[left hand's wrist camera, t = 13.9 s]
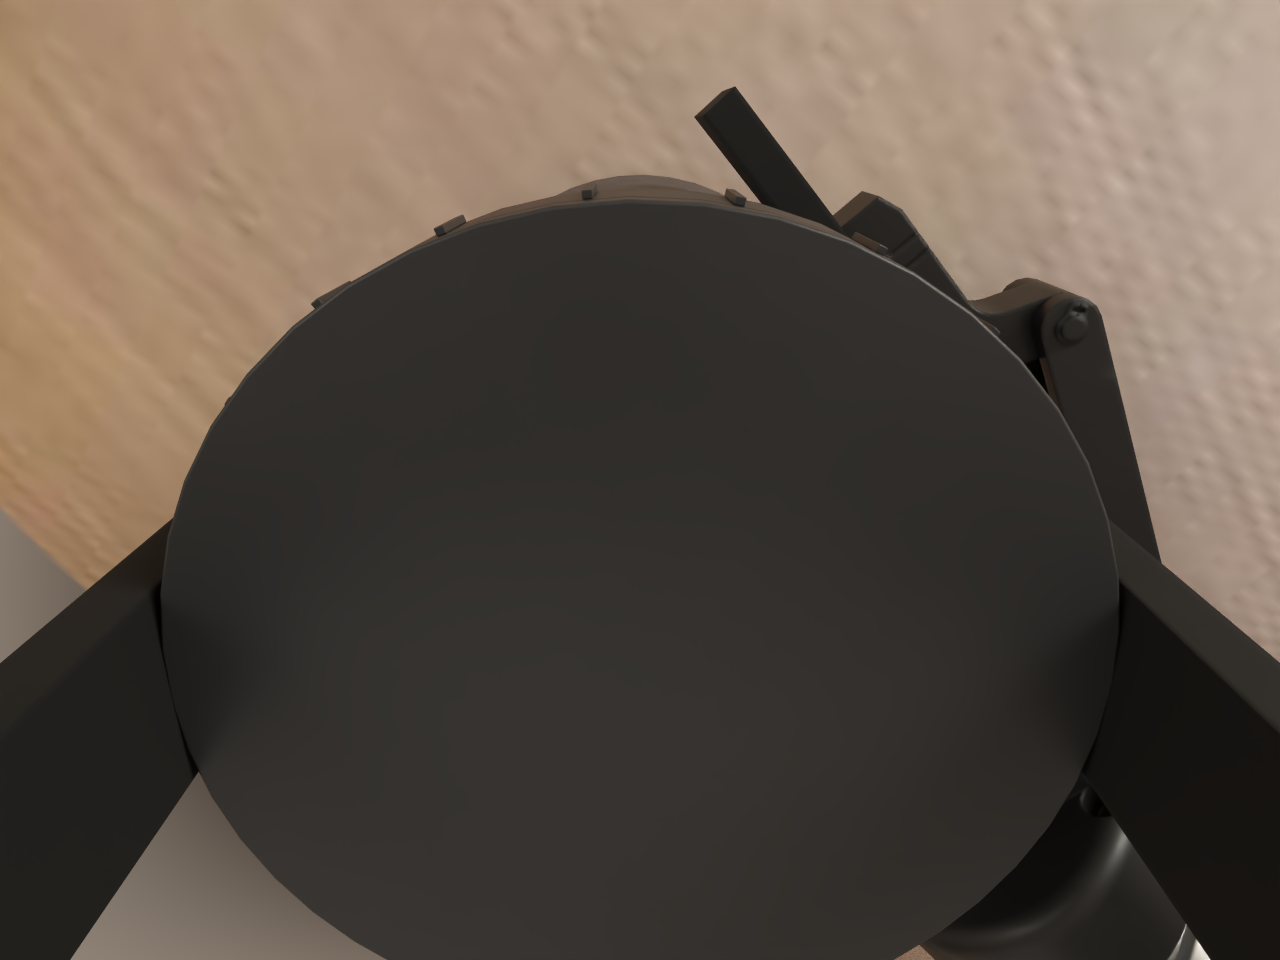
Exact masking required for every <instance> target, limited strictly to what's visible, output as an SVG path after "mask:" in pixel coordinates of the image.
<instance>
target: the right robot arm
mask: <svg viewBox="0 0 1280 960" xmlns="http://www.w3.org/2000/svg"><path fill="white" fill-rule="evenodd" d="M695 119H696V120H697V121H698V122H699V124H700V125H701V126H702V128H703V129H704V130H705V131H706V133H707V134H708V135H709V137H710V138H711V139H712V140H713V142H714V143H715V144H716V146H717V147H718V148H719V149H720V151H721V152H722V153H723V155H724V156H725V157H726V158H727V160H728V161H729V162H730V164H731V165H732V166H733V167H734V169H735V170H736V171H737V173H738V174H739V175H740V176H741V178H742V179H743V180H744V182H745V183H746V184H747V185H748V187H749V188H750V189H751V191H752V192H753V193H754V194H755V196H756V197H757V198H758V200H759V201H760V202H761V203H762V204H764V205H767V206H769V207H772V208H775V209H778V210H781V211H784V212H787V213H790V214H793V215H796V216H799V217H802V218H805V219H808V220H811V221H814V222H817V223H820V224H822V225H824V226H826V227H828V228H830V229H832V230H834V231H836V232H838V233H840V234H842V235H844V236H846V237H848V238H850V239H852V236H853V235H854V233H855V232H857V233H859V234H861V235H863V236H865V237H867V238H869V239H871V240H873V241H875V242H877V243H879V244H881V245H883V246H885V247H886V248H888V250H887V252H886V253H885V255H884V256H885V257H887V258H889V259H891V260H892V261H894V262H896V263H898V264H900V265H902V266H904V267H905V268H907V269H909V270H911V271H913V272H915V273H916V274H918V275H919V276H920V277H922V278H923V279H925V280H926V281H928V282H929V283H930V284H932V285H933V286H935V287H936V288H938V289H939V290H940V291H942V292H943V293H945V294H946V295H948V296H949V297H950V298H952V299H953V300H955V301H956V302H957V303H959V304H960V305H962V306H963V307H965V308H966V309H967V310H969V311H970V312H972V313H973V314H974V315H975V316H976V317H978V318H980V319H982V320H983V321H985V322H987V323H989V324H990V325H992V326H994V327H995V328H996V329H997V330H998V331H999V332H1000V334H999V335H998V336H997V337H998V338H999V339H1000V340H1001V341H1002V342H1003V343H1004V344H1005V345H1006V346H1008V347H1009V348H1010V349H1011V350H1012V351H1013V352H1014V353H1015V354H1016V355H1017V356H1018V357H1019V358H1020V359H1021V360H1022V362H1023V363H1024V364H1025V365H1026V367H1027V368H1028V369H1029V371H1030V372H1031V373H1032V375H1033V376H1034V377H1035V378H1036V380H1037V381H1038V382H1039V384H1040V385H1041V386H1042V387H1043V389H1044V390H1045V391H1046V393H1047V394H1048V395H1049V397H1050V398H1051V399H1052V400H1053V402H1054V403H1055V404H1056V406H1057V407H1058V408H1059V410H1060V411H1061V413H1062V415H1063V417H1064V419H1065V421H1066V422H1067V424H1068V426H1069V428H1070V430H1071V432H1072V434H1073V435H1074V437H1075V439H1076V441H1077V443H1078V445H1079V446H1080V448H1081V450H1082V452H1083V454H1084V456H1085V457H1086V459H1087V461H1088V463H1089V465H1090V468H1091V471H1092V474H1093V477H1094V480H1095V483H1096V485H1097V488H1098V491H1099V494H1100V497H1101V500H1102V502H1103V505H1104V508H1105V511H1106V514H1107V517H1108V519H1109V520H1110V521H1112V522H1113V523H1114V524H1115V525H1116V526H1118V527H1119V528H1120V529H1121V530H1122V531H1124V532H1125V533H1126V534H1127V535H1128V536H1129V537H1131V538H1132V539H1133V540H1134V541H1135V542H1137V543H1138V544H1139V545H1140V546H1141V547H1143V548H1144V549H1145V550H1146V551H1147V552H1149V553H1150V554H1151V555H1152V556H1153V557H1154V558H1156V559H1157V560H1158V561H1159V562H1160V563H1161V559H1160V555H1159V551H1158V547H1157V543H1156V539H1155V534H1154V530H1153V526H1152V522H1151V518H1150V514H1149V510H1148V505H1147V501H1146V497H1145V493H1144V489H1143V485H1142V481H1141V477H1140V472H1139V468H1138V464H1137V460H1136V456H1135V452H1134V448H1133V444H1132V439H1131V435H1130V431H1129V427H1128V423H1127V419H1126V415H1125V411H1124V406H1123V402H1122V398H1121V394H1120V390H1119V386H1118V382H1117V378H1116V373H1115V369H1114V365H1113V361H1112V357H1111V353H1110V349H1109V344H1108V340H1107V336H1106V332H1105V328H1104V324H1103V320H1102V316H1101V314H1100V312H1099V310H1098V308H1097V306H1096V305H1095V304H1093V303H1092V302H1091V301H1089V300H1088V299H1086V298H1083V297H1081V296H1078V295H1075V294H1073V293H1070V292H1068V291H1065V290H1063V289H1060V288H1058V287H1055V286H1052V285H1050V284H1047V283H1045V282H1042V281H1040V280H1037V279H1032V278H1023V279H1018V280H1015V281H1014V282H1012V283H1011V284H1009V285H1008V286H1006V288H1005V289H1004V290H1003V291H1002V292H1001V293H998V294H995V295H993V296H990V297H987V298H984V299H980V300H976V301H974V300H967V299H966V297H965V296H964V294H963V293H962V292H961V290H960V289H959V288H958V286H957V285H956V283H955V282H954V281H953V279H952V278H951V277H950V275H949V274H948V272H947V271H946V270H945V268H944V267H943V265H942V264H941V263H940V261H939V260H938V259H937V257H936V256H935V254H934V253H933V252H932V251H931V250H930V248H929V246H928V245H927V243H926V242H925V241H924V239H923V238H922V236H921V235H920V234H919V233H918V231H917V230H916V228H915V227H914V225H913V224H912V223H911V221H910V220H909V218H908V217H907V216H906V214H905V213H904V212H903V210H902V209H900V208H898V207H897V206H895V205H893V204H891V203H890V202H888V201H886V200H884V199H883V198H881V197H879V196H876V195H873V194H870V193H866V192H863V191H862V192H860V193H859V194H858V195H857V196H856V197H855V198H853V199H852V200H851V201H850V202H849V203H847V204H846V205H845V206H844V207H843V208H841V209H840V210H839V211H838V212H837V213H835V214H834V215H833V216H832V214H831V213H830V212H829V210H828V209H827V208H826V206H825V205H824V204H823V202H822V201H821V200H820V198H819V197H818V196H817V194H816V193H815V192H814V190H813V189H812V188H811V186H810V185H809V184H808V182H807V181H806V180H805V178H804V177H803V176H802V174H801V173H800V172H799V171H798V169H797V168H796V167H795V165H794V164H793V163H792V161H791V160H790V159H789V157H788V156H787V155H786V153H785V152H784V151H783V149H782V148H781V147H780V145H779V144H778V143H777V141H776V140H775V139H774V137H773V136H772V135H771V133H770V132H769V131H768V129H767V128H766V127H765V125H764V124H763V123H762V121H761V120H760V119H759V117H758V116H757V115H756V113H755V112H754V111H753V109H752V108H751V107H750V105H749V104H748V103H747V101H746V100H745V99H744V97H743V96H742V95H741V94H740V92H739V91H738V90H737V88H736V87H732V88H730V89H727V90H725V91H722V92H721V93H720V94H719V95H718V96H717V97H716V98H715V99H713V100H712V101H711V102H710V103H709V104H708V105H707V106H706V107H705V108H704V109H702V110H701V111H700V112H699V113H698V114H697V115H696V116H695ZM919 945H920V946H921V947H922V948H923V949H924V950H925V951H927V952H928V953H929V954H930V955H931V956H932V957H933V958H934V959H935V960H1210V958H1209V957H1208V955H1207V954H1206V953H1205V951H1204V950H1203V948H1202V947H1201V945H1200V944H1199V942H1198V941H1197V939H1196V938H1195V936H1194V935H1193V933H1192V932H1191V931H1190V929H1189V928H1188V926H1187V925H1186V923H1185V922H1184V920H1183V919H1182V917H1181V916H1180V914H1179V913H1178V912H1177V910H1176V909H1175V907H1174V906H1173V904H1172V903H1171V901H1170V900H1169V898H1168V897H1167V895H1166V894H1165V892H1164V891H1163V890H1162V888H1161V887H1160V885H1159V884H1158V882H1157V881H1156V879H1155V878H1154V876H1153V875H1152V873H1151V872H1150V871H1149V869H1148V868H1147V866H1146V865H1145V863H1144V862H1143V860H1142V859H1141V857H1140V856H1139V854H1138V853H1137V851H1136V850H1135V849H1134V847H1133V846H1132V844H1131V843H1130V841H1129V840H1128V838H1127V837H1126V835H1125V834H1124V832H1123V831H1122V830H1121V828H1120V827H1119V825H1118V824H1117V822H1116V821H1115V819H1114V818H1113V816H1112V815H1111V813H1110V812H1109V810H1108V809H1107V808H1106V806H1105V805H1104V803H1103V802H1102V800H1101V799H1100V797H1099V796H1098V794H1097V793H1096V791H1095V790H1094V789H1093V787H1092V786H1091V784H1090V783H1089V781H1088V780H1087V778H1086V777H1085V775H1084V774H1083V772H1082V771H1081V774H1080V776H1079V778H1078V780H1077V782H1076V784H1075V786H1074V787H1073V789H1072V790H1071V792H1070V794H1069V795H1068V797H1067V798H1066V800H1065V802H1064V803H1063V805H1062V806H1061V808H1060V810H1059V811H1058V813H1057V814H1056V816H1055V818H1054V819H1053V821H1052V822H1051V824H1050V826H1049V827H1048V828H1047V829H1046V831H1045V832H1044V833H1043V834H1042V836H1041V837H1040V838H1039V839H1038V840H1037V842H1036V843H1035V844H1034V845H1033V847H1032V848H1031V849H1030V850H1029V851H1028V853H1027V854H1026V855H1025V856H1024V858H1023V859H1022V860H1021V861H1020V862H1019V864H1018V865H1017V866H1016V867H1015V868H1014V869H1013V870H1012V871H1011V872H1010V873H1009V874H1008V875H1007V876H1006V877H1005V878H1004V879H1003V880H1002V881H1001V882H999V883H998V884H997V885H996V886H995V887H994V888H993V889H992V890H991V891H990V892H989V893H988V894H987V895H986V896H985V897H984V898H983V899H982V900H981V901H980V902H978V903H977V904H976V905H974V906H973V907H972V908H971V909H969V910H968V911H967V912H965V913H964V914H963V915H961V916H960V917H959V918H957V919H956V920H955V921H953V922H952V923H951V924H950V925H948V926H947V927H946V928H944V929H943V930H942V931H940V932H939V933H938V934H936V935H934V936H933V937H931V938H929V939H928V940H926V941H924V942H923V943H921V944H919Z"/></svg>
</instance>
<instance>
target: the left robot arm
mask: <svg viewBox="0 0 1280 960" xmlns="http://www.w3.org/2000/svg"><path fill="white" fill-rule="evenodd" d="M1108 520H1109V519H1108ZM172 521H173V518H172V519H171V520H170V521H169V522H168V523H166V524H165V525H164V526H163V527H162V528H161V529H159V530H158V531H157V532H156V533H155V534H153V535H152V536H151V537H150V538H149V539H147V540H146V541H145V542H144V543H143V544H142V545H140V546H139V547H138V548H137V549H136V550H134V551H133V552H132V553H131V554H130V555H128V556H127V557H126V558H125V559H124V560H122V561H121V562H120V563H119V564H118V565H117V566H115V567H114V568H113V569H112V570H111V571H109V572H108V573H107V574H106V575H105V576H103V577H102V578H101V579H100V580H99V581H98V582H96V583H95V584H94V585H93V586H92V587H90V588H89V589H88V590H87V591H86V592H84V593H83V594H82V595H81V596H80V597H79V598H77V599H76V600H75V601H74V602H73V603H71V604H70V605H69V606H68V607H67V608H65V609H64V610H63V611H62V612H61V613H60V614H58V615H57V616H56V617H55V618H54V619H52V620H51V621H50V622H49V623H48V624H46V625H45V626H44V627H43V628H42V629H40V630H39V631H38V632H37V633H36V634H35V635H33V636H32V637H31V638H30V639H29V640H27V641H26V642H25V643H24V644H23V645H21V646H20V647H19V648H18V649H17V650H16V651H14V652H13V653H12V654H11V655H10V656H8V657H7V658H6V659H5V660H4V661H2V662H1V663H0V960H70V959H71V958H72V956H73V955H74V953H75V952H76V950H77V949H78V947H79V946H80V944H81V943H82V942H83V940H84V939H85V937H86V936H87V934H88V933H89V931H90V930H91V928H92V927H93V925H94V924H95V923H96V921H97V920H98V918H99V917H100V915H101V914H102V912H103V911H104V909H105V908H106V906H107V905H108V903H109V902H110V900H111V899H112V898H113V896H114V895H115V893H116V892H117V890H118V889H119V887H120V886H121V884H122V883H123V881H124V880H125V879H126V877H127V876H128V874H129V873H130V871H131V870H132V868H133V867H134V865H135V864H136V862H137V861H138V860H139V858H140V857H141V855H142V854H143V852H144V851H145V849H146V848H147V846H148V845H149V843H150V842H151V840H152V839H153V838H154V836H155V835H156V833H157V832H158V830H159V829H160V827H161V826H162V824H163V823H164V821H165V820H166V819H167V817H168V815H169V814H170V813H171V811H172V810H173V808H174V807H175V805H176V804H177V802H178V801H179V799H180V798H181V797H182V795H183V794H184V792H185V791H186V789H187V788H188V786H189V785H190V783H191V782H192V780H193V779H194V778H195V776H196V774H197V773H198V772H199V771H198V769H197V767H196V765H195V763H194V761H193V759H192V757H191V755H190V753H189V751H188V748H187V745H186V742H185V739H184V736H183V733H182V730H181V728H180V725H179V722H178V719H177V716H176V712H175V708H174V705H173V701H172V696H171V692H170V687H169V683H168V678H167V674H166V668H165V663H164V657H163V652H162V636H161V599H160V592H161V585H162V577H163V569H164V562H165V554H166V547H167V539H168V534H169V531H170V527H171V524H172ZM1109 525H1110V531H1111V536H1112V542H1113V548H1114V553H1115V559H1116V564H1117V570H1118V575H1119V618H1120V633H1119V641H1118V648H1117V655H1116V663H1115V670H1114V675H1113V680H1112V685H1111V689H1110V693H1109V697H1108V701H1107V705H1106V709H1105V712H1104V716H1103V719H1102V723H1101V726H1100V730H1099V733H1098V736H1097V738H1096V740H1095V743H1094V745H1093V747H1092V749H1091V751H1090V754H1089V756H1088V758H1087V760H1086V763H1085V765H1084V767H1083V769H1082V772H1083V774H1084V775H1085V777H1086V778H1087V780H1088V781H1089V783H1090V784H1091V786H1092V787H1093V789H1094V790H1095V791H1096V793H1097V794H1098V796H1099V797H1100V799H1101V800H1102V802H1103V803H1104V805H1105V806H1106V808H1107V809H1108V810H1109V812H1110V813H1111V815H1112V816H1113V818H1114V819H1115V821H1116V822H1117V824H1118V825H1119V827H1120V828H1121V830H1122V831H1123V832H1124V834H1125V835H1126V837H1127V838H1128V840H1129V841H1130V843H1131V844H1132V846H1133V847H1134V849H1135V850H1136V851H1137V853H1138V854H1139V856H1140V857H1141V859H1142V860H1143V862H1144V863H1145V865H1146V866H1147V868H1148V869H1149V871H1150V872H1151V873H1152V875H1153V876H1154V878H1155V879H1156V881H1157V882H1158V884H1159V885H1160V887H1161V888H1162V890H1163V891H1164V892H1165V894H1166V895H1167V897H1168V898H1169V900H1170V901H1171V903H1172V904H1173V906H1174V907H1175V909H1176V910H1177V912H1178V913H1179V914H1180V916H1181V917H1182V919H1183V920H1184V922H1185V923H1186V925H1187V926H1188V928H1189V929H1190V931H1191V932H1192V933H1193V935H1194V936H1195V938H1196V939H1197V941H1198V942H1199V944H1200V945H1201V947H1202V948H1203V950H1204V951H1205V953H1206V954H1207V955H1208V957H1209V958H1210V960H1280V663H1279V662H1278V661H1277V660H1276V659H1275V658H1273V657H1272V656H1271V655H1270V654H1269V653H1267V652H1266V651H1265V650H1264V649H1263V648H1261V647H1260V646H1259V645H1258V644H1257V643H1256V642H1254V641H1253V640H1252V639H1251V638H1250V637H1248V636H1247V635H1246V634H1245V633H1244V632H1242V631H1241V630H1240V629H1239V628H1238V627H1237V626H1235V625H1234V624H1233V623H1232V622H1231V621H1229V620H1228V619H1227V618H1226V617H1225V616H1223V615H1222V614H1221V613H1220V612H1219V611H1217V610H1216V609H1215V608H1214V607H1213V606H1212V605H1210V604H1209V603H1208V602H1207V601H1206V600H1204V599H1203V598H1202V597H1201V596H1200V595H1198V594H1197V593H1196V592H1195V591H1194V590H1193V589H1191V588H1190V587H1189V586H1188V585H1187V584H1185V583H1184V582H1183V581H1182V580H1181V579H1179V578H1178V577H1177V576H1176V575H1175V574H1173V573H1172V572H1171V571H1170V570H1169V569H1168V568H1166V567H1165V566H1164V565H1163V564H1162V563H1160V562H1159V561H1158V560H1157V559H1156V558H1154V557H1153V556H1152V555H1151V554H1150V553H1149V552H1147V551H1146V550H1145V549H1144V548H1143V547H1141V546H1140V545H1139V544H1138V543H1137V542H1135V541H1134V540H1133V539H1132V538H1131V537H1129V536H1128V535H1127V534H1126V533H1125V532H1124V531H1122V530H1121V529H1120V528H1119V527H1118V526H1116V525H1115V524H1114V523H1113V522H1112V521H1110V520H1109Z"/></svg>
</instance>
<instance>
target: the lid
mask: <svg viewBox="0 0 1280 960" xmlns="http://www.w3.org/2000/svg"><path fill="white" fill-rule="evenodd" d="M465 222H466V220H465V218H464V215H460V216H458V217H455V218H454V219H452V220H450V221H448V222H446V223H444V224H442V225H440V226H438V227H436V228H434V231H435V233H436V235H435V236H433V237H431V238H429V239H428V240H426V241H424V242H422V243H420V244H418V245H417V246H415V247H413V248H411V249H409V250H407V251H406V252H404V253H402V254H400V255H399V256H397V257H395V258H393V259H391V260H390V261H388V262H386V263H384V264H382V265H381V266H379V267H377V268H375V269H374V270H372V271H370V272H368V273H366V274H365V275H363V276H361V277H359V278H357V279H356V280H354V281H352V282H351V281H348V282H347V283H345V284H343V285H341V286H339V287H337V288H336V289H334V290H332V291H330V292H328V293H326V294H324V295H323V296H321V297H319V298H317V299H316V300H315V301H314V302H312V303H311V305H312V306H313V307H314V308H315V309H314V310H313V311H312V312H311V313H309V314H308V315H307V316H305V317H304V318H303V319H301V320H300V321H299V322H298V323H296V324H295V325H294V326H292V327H291V329H290V330H289V331H288V332H287V333H286V334H285V335H284V336H283V337H282V338H281V339H280V340H279V341H278V342H277V343H276V344H275V345H274V346H273V347H272V348H271V349H270V350H269V352H268V353H267V354H266V355H265V356H264V357H263V358H262V359H261V360H260V361H259V362H258V363H257V364H256V365H255V366H254V367H253V368H252V369H251V370H250V371H249V372H248V373H247V375H246V376H245V378H244V379H243V380H242V382H241V383H240V385H239V386H238V388H237V389H236V391H235V392H234V393H233V395H232V396H231V397H229V398H228V400H227V401H226V403H225V406H224V408H223V409H222V411H221V412H220V413H219V415H218V416H217V418H216V419H215V421H214V422H213V424H212V425H211V427H210V429H209V431H208V433H207V435H206V437H205V439H204V441H203V443H202V445H201V447H200V449H199V451H198V454H197V456H196V458H195V460H194V462H193V464H192V466H191V468H190V470H189V472H188V474H187V476H186V478H185V480H184V484H183V487H182V491H181V494H180V497H179V501H178V504H177V507H176V511H175V514H174V517H173V521H172V524H171V527H170V531H169V534H168V539H167V547H166V554H165V562H164V569H163V577H162V585H161V592H160V599H161V636H162V652H163V657H164V663H165V668H166V674H167V678H168V683H169V687H170V692H171V696H172V701H173V705H174V708H175V712H176V716H177V719H178V722H179V725H180V728H181V730H182V733H183V736H184V739H185V742H186V745H187V748H188V751H189V753H190V755H191V757H192V759H193V761H194V763H195V765H196V767H197V769H198V771H199V773H200V775H201V777H202V779H203V781H204V783H205V785H206V787H207V789H208V791H209V793H210V795H211V796H212V798H213V800H214V801H215V802H216V804H217V805H218V807H219V808H220V810H221V811H222V813H223V814H224V816H225V817H226V818H227V820H228V821H229V823H230V824H231V826H232V827H233V829H234V830H235V832H236V833H237V835H238V836H239V838H240V839H241V840H242V841H243V842H244V844H245V845H246V846H247V847H248V848H249V849H250V850H251V851H252V853H253V854H254V855H255V856H256V857H257V858H258V859H259V861H260V862H261V863H262V864H263V865H264V866H265V867H266V869H267V870H268V871H269V872H270V873H271V874H272V875H273V876H274V878H275V879H277V880H278V881H279V882H280V883H281V884H282V885H283V886H284V887H286V888H287V889H288V890H289V891H290V892H291V893H292V894H293V895H295V896H296V897H297V898H298V899H299V900H300V901H301V902H302V903H303V904H305V905H306V906H307V907H308V908H309V909H310V910H311V911H312V912H314V913H315V914H317V915H318V916H319V917H321V918H322V919H324V920H325V921H326V922H328V923H329V924H331V925H332V926H333V927H335V928H336V929H338V930H339V931H341V932H342V933H343V934H345V935H346V936H348V937H349V938H350V939H352V940H353V941H355V942H356V943H358V944H360V945H362V946H363V947H365V948H367V949H369V950H371V951H372V952H374V953H376V954H378V955H379V956H381V957H383V958H385V959H387V960H894V959H896V958H898V957H899V956H901V955H903V954H904V953H906V952H908V951H909V950H911V949H913V948H914V947H916V946H918V945H919V944H921V943H923V942H924V941H926V940H928V939H929V938H931V937H933V936H934V935H936V934H938V933H939V932H940V931H942V930H943V929H944V928H946V927H947V926H948V925H950V924H951V923H952V922H953V921H955V920H956V919H957V918H959V917H960V916H961V915H963V914H964V913H965V912H967V911H968V910H969V909H971V908H972V907H973V906H974V905H976V904H977V903H978V902H980V901H981V900H982V899H983V898H984V897H985V896H986V895H987V894H988V893H989V892H990V891H991V890H992V889H993V888H994V887H995V886H996V885H997V884H998V883H999V882H1001V881H1002V880H1003V879H1004V878H1005V877H1006V876H1007V875H1008V874H1009V873H1010V872H1011V871H1012V870H1013V869H1014V868H1015V867H1016V866H1017V865H1018V864H1019V862H1020V861H1021V860H1022V859H1023V858H1024V856H1025V855H1026V854H1027V853H1028V851H1029V850H1030V849H1031V848H1032V847H1033V845H1034V844H1035V843H1036V842H1037V840H1038V839H1039V838H1040V837H1041V836H1042V834H1043V833H1044V832H1045V831H1046V829H1047V828H1048V827H1049V826H1050V824H1051V822H1052V821H1053V819H1054V818H1055V816H1056V814H1057V813H1058V811H1059V810H1060V808H1061V806H1062V805H1063V803H1064V802H1065V800H1066V798H1067V797H1068V795H1069V794H1070V792H1071V790H1072V789H1073V787H1074V786H1075V784H1076V782H1077V780H1078V778H1079V776H1080V774H1081V771H1082V769H1083V767H1084V765H1085V763H1086V760H1087V758H1088V756H1089V754H1090V751H1091V749H1092V747H1093V745H1094V743H1095V740H1096V738H1097V736H1098V733H1099V730H1100V726H1101V723H1102V719H1103V716H1104V712H1105V709H1106V705H1107V701H1108V697H1109V693H1110V689H1111V685H1112V680H1113V675H1114V670H1115V663H1116V655H1117V648H1118V641H1119V633H1120V618H1119V575H1118V570H1117V564H1116V559H1115V553H1114V548H1113V542H1112V536H1111V531H1110V525H1109V520H1108V517H1107V514H1106V511H1105V508H1104V505H1103V502H1102V500H1101V497H1100V494H1099V491H1098V488H1097V485H1096V483H1095V480H1094V477H1093V474H1092V471H1091V468H1090V465H1089V463H1088V461H1087V459H1086V457H1085V456H1084V454H1083V452H1082V450H1081V448H1080V446H1079V445H1078V443H1077V441H1076V439H1075V437H1074V435H1073V434H1072V432H1071V430H1070V428H1069V426H1068V424H1067V422H1066V421H1065V419H1064V417H1063V415H1062V413H1061V411H1060V410H1059V408H1058V407H1057V406H1056V404H1055V403H1054V402H1053V400H1052V399H1051V398H1050V397H1049V395H1048V394H1047V393H1046V391H1045V390H1044V389H1043V387H1042V386H1041V385H1040V384H1039V382H1038V381H1037V380H1036V378H1035V377H1034V376H1033V375H1032V373H1031V372H1030V371H1029V369H1028V368H1027V367H1026V365H1025V364H1024V363H1023V362H1022V360H1021V359H1020V358H1019V357H1018V356H1017V355H1016V354H1015V353H1014V352H1013V351H1012V350H1011V349H1010V348H1009V347H1008V346H1006V345H1005V344H1004V343H1003V342H1002V341H1001V340H1000V339H999V338H998V337H997V336H998V335H999V334H1000V332H999V331H998V330H997V329H996V328H995V327H994V326H992V325H990V324H989V323H987V322H985V321H983V320H982V319H980V318H978V317H976V316H975V315H974V314H973V313H972V312H970V311H969V310H967V309H966V308H965V307H963V306H962V305H960V304H959V303H957V302H956V301H955V300H953V299H952V298H950V297H949V296H948V295H946V294H945V293H943V292H942V291H940V290H939V289H938V288H936V287H935V286H933V285H932V284H930V283H929V282H928V281H926V280H925V279H923V278H922V277H920V276H919V275H918V274H916V273H915V272H913V271H911V270H909V269H907V268H905V267H904V266H902V265H900V264H898V263H896V262H894V261H892V260H891V259H889V258H887V257H885V256H884V255H885V253H886V252H887V250H888V248H886V247H885V246H883V245H881V244H879V243H877V242H875V241H873V240H871V239H869V238H867V237H865V236H863V235H861V234H859V233H857V232H855V233H854V235H853V236H852V239H850V238H848V237H846V236H844V235H842V234H840V233H838V232H836V231H834V230H832V229H830V228H828V227H826V226H824V225H822V224H820V223H817V222H814V221H811V220H808V219H805V218H802V217H799V216H796V215H793V214H790V213H787V212H784V211H781V210H778V209H775V208H772V207H769V206H767V205H764V204H761V203H756V202H751V201H746V197H744V196H743V195H741V194H740V193H738V192H737V191H736V190H733V189H726V193H725V197H724V196H719V195H713V194H708V193H703V192H697V191H681V190H660V189H639V188H625V189H614V190H603V191H597V183H588V184H587V185H586V186H585V187H584V189H583V190H582V191H581V193H570V194H562V195H558V196H554V197H549V198H545V199H541V200H537V201H532V202H528V203H524V204H519V205H515V206H511V207H506V208H502V209H499V210H497V211H494V212H491V213H489V214H486V215H484V216H481V217H479V218H476V219H473V220H471V221H468V222H466V223H465Z"/></svg>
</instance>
